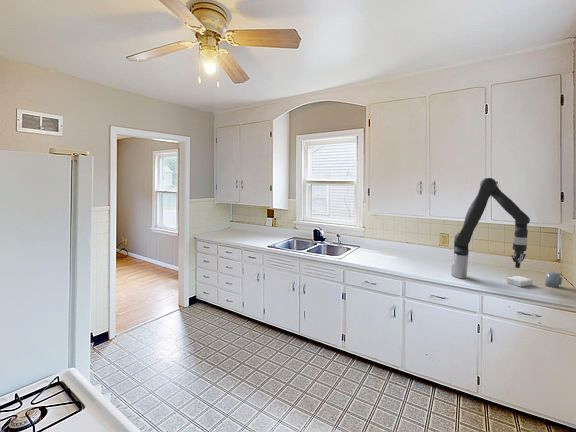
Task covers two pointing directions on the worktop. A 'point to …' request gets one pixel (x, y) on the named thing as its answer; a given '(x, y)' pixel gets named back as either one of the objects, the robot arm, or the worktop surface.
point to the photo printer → (519, 281)
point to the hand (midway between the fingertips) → (517, 267)
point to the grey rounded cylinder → (553, 279)
